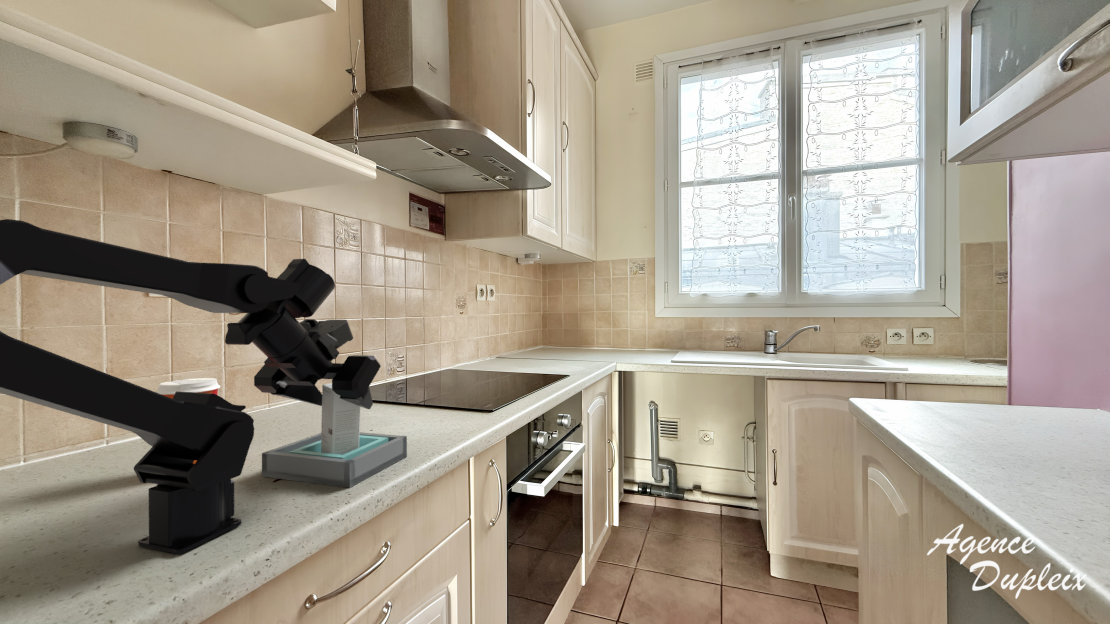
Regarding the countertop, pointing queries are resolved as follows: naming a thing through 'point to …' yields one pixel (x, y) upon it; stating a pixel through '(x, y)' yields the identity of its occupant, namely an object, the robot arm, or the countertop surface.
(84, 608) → the countertop surface
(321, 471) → the crate
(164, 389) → the paper cup
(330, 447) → the skincare box
